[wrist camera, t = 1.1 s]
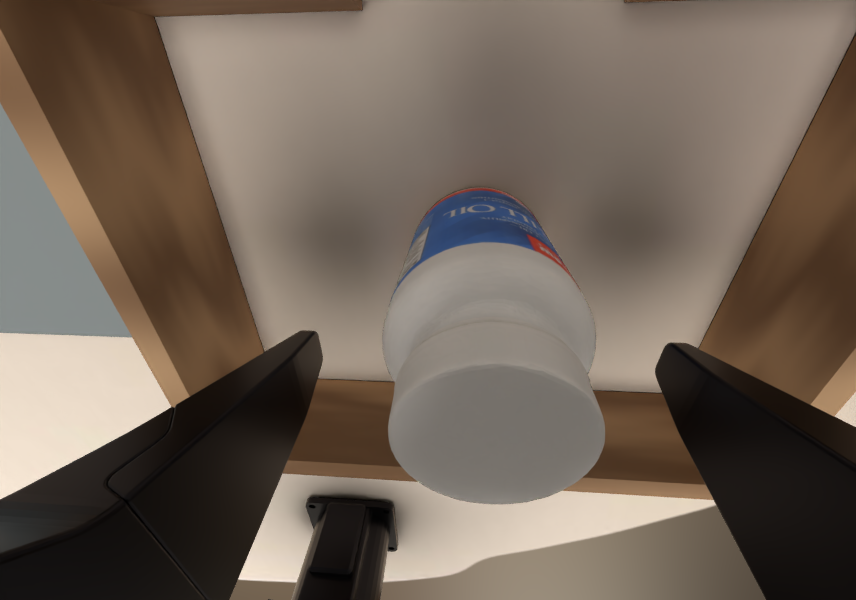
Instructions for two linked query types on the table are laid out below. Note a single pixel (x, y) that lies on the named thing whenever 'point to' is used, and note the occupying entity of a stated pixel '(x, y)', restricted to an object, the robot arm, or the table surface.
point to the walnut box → (369, 400)
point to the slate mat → (44, 257)
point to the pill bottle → (490, 356)
